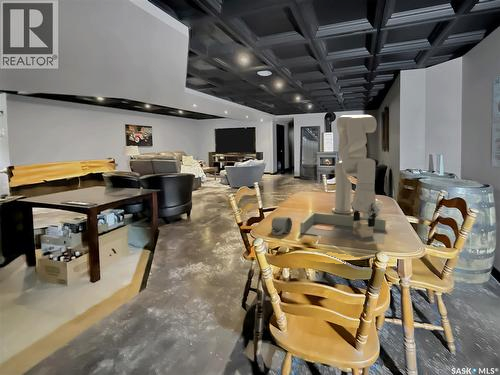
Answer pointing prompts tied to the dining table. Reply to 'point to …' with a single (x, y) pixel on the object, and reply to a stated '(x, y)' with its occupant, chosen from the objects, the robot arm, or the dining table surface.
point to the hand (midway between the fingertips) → (363, 223)
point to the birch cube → (362, 228)
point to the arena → (340, 227)
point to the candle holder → (379, 206)
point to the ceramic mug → (281, 225)
